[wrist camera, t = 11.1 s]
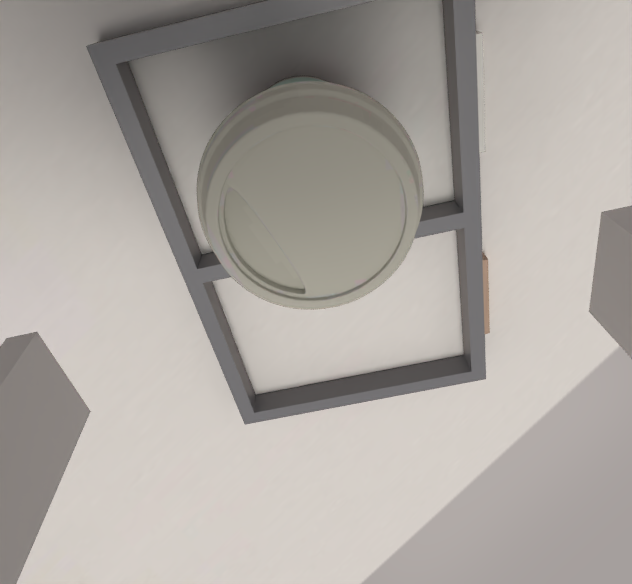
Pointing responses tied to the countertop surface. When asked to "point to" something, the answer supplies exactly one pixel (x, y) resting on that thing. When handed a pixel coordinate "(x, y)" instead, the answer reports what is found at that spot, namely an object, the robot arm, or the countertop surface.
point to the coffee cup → (310, 194)
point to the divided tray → (461, 215)
